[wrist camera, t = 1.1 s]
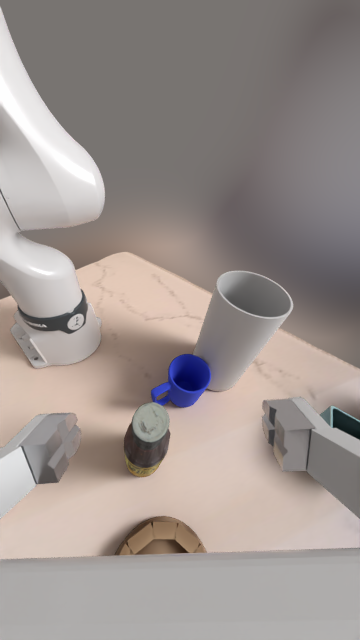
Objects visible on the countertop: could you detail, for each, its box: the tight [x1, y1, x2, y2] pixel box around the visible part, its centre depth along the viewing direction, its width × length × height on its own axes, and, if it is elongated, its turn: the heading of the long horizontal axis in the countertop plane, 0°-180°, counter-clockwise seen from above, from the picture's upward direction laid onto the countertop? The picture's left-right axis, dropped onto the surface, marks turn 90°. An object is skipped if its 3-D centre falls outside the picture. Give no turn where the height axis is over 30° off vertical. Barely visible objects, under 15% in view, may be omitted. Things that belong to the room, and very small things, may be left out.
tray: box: [114, 516, 207, 556], centre depth 23 cm, size 15×15×2 cm
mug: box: [151, 354, 211, 407], centre depth 38 cm, size 8×12×10 cm
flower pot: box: [320, 405, 360, 440], centre depth 35 cm, size 9×9×9 cm
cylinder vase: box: [193, 271, 293, 391], centre depth 40 cm, size 12×12×25 cm
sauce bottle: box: [124, 402, 170, 477], centre depth 27 cm, size 6×6×20 cm
